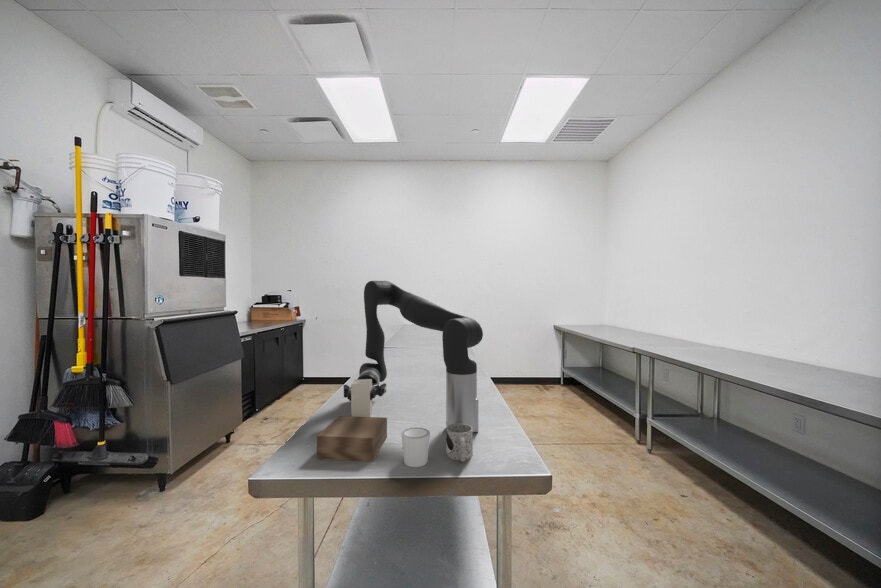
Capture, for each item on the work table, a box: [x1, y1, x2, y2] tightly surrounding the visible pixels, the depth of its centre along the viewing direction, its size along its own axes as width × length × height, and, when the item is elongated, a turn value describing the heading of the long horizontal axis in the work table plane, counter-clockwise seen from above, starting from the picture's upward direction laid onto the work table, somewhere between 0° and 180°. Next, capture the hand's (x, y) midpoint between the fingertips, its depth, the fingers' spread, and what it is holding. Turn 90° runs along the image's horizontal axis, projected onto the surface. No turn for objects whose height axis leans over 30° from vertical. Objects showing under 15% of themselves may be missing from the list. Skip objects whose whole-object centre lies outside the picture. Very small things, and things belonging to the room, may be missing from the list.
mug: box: [445, 423, 474, 463], centre depth 85 cm, size 10×7×7 cm, turn 4°
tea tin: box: [350, 379, 373, 417], centre depth 103 cm, size 5×5×10 cm
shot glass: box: [401, 427, 431, 468], centre depth 83 cm, size 7×7×7 cm
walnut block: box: [316, 415, 388, 463], centre depth 91 cm, size 14×14×6 cm
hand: (360, 396), depth 101 cm, fingers closed on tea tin, 5 cm apart
